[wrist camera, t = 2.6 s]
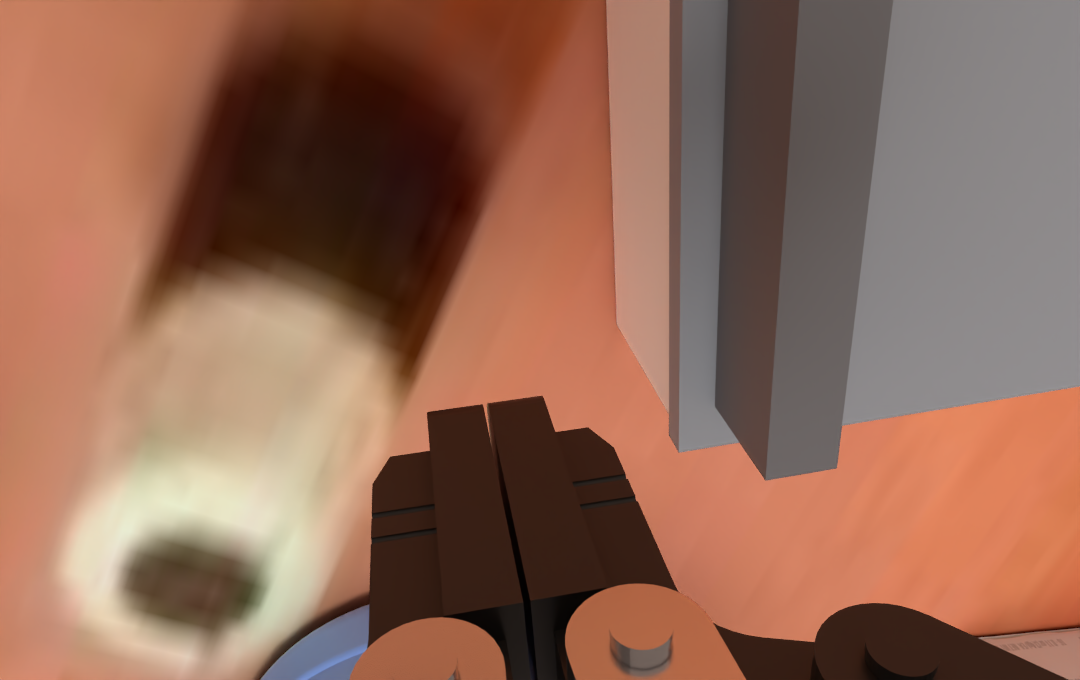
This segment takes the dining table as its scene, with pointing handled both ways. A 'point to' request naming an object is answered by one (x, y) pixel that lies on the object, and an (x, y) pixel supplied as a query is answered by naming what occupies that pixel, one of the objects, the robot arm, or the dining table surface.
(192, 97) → the dining table surface
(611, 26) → the mailer box
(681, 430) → the lid
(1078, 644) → the tea box
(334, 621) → the water jug
